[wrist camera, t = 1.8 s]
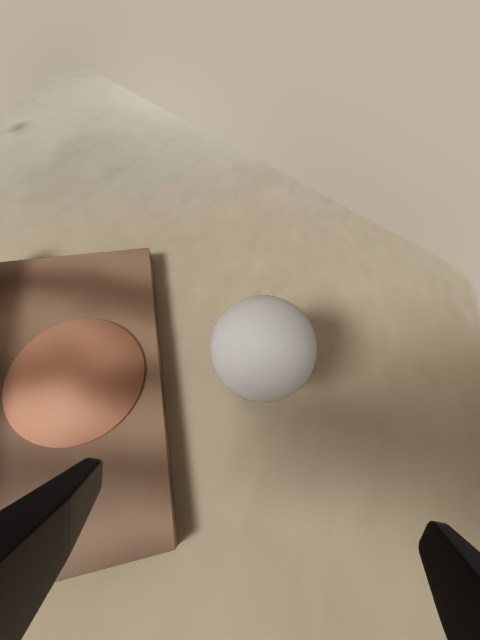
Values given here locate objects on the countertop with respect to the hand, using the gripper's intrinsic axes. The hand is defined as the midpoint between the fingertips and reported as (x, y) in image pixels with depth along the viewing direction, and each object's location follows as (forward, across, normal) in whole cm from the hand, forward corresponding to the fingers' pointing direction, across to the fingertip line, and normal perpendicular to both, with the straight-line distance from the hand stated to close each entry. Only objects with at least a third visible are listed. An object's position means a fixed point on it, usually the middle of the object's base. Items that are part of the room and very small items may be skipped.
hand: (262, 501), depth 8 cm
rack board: (+12, +13, +6) cm, 19 cm away
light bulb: (+14, 0, +4) cm, 15 cm away
